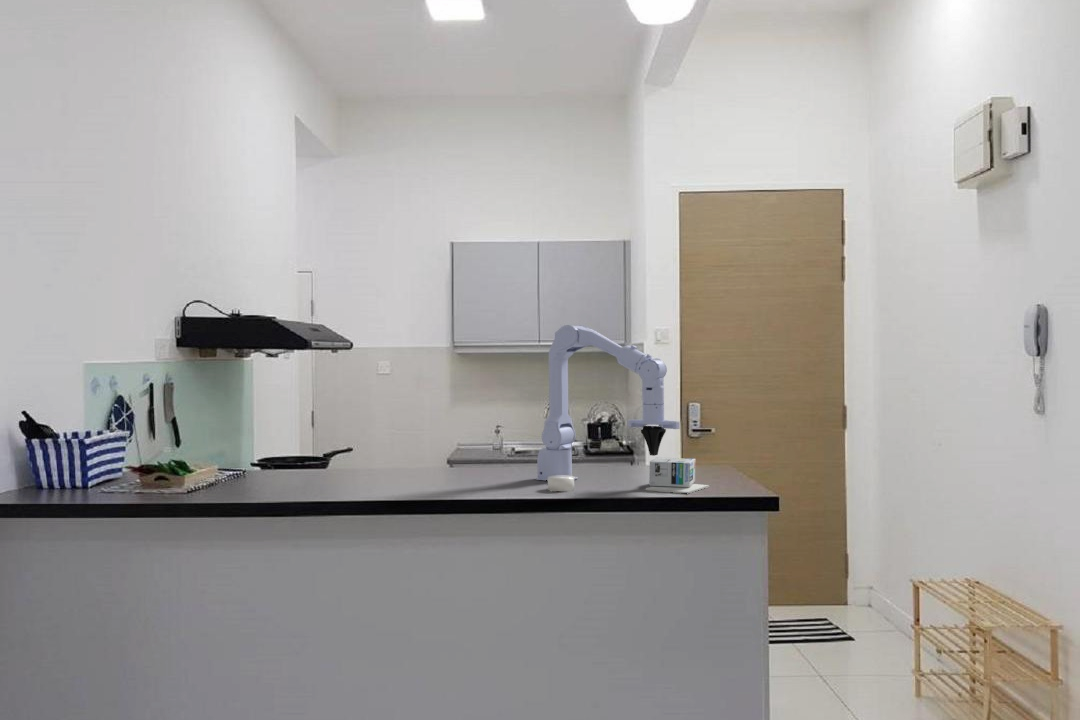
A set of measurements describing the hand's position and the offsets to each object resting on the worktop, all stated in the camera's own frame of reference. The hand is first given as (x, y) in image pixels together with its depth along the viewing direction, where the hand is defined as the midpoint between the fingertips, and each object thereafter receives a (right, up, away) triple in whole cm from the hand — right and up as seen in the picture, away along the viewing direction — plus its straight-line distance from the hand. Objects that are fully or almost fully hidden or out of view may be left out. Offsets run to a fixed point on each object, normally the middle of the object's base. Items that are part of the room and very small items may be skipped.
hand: (653, 455), depth 235 cm
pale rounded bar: (-25, -9, -3) cm, 27 cm away
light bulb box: (0, -4, +2) cm, 5 cm away
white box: (+6, -8, -4) cm, 11 cm away
